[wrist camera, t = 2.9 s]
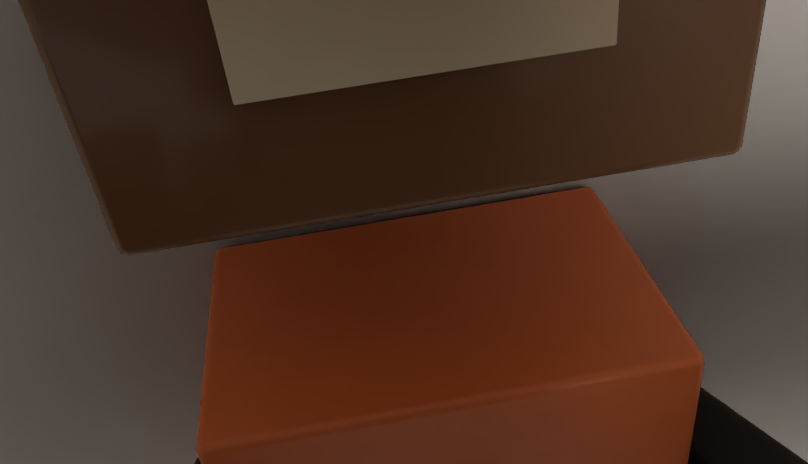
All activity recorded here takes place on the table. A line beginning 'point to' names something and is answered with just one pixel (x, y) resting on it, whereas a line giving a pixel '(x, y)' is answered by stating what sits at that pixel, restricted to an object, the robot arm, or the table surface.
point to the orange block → (448, 344)
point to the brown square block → (379, 102)
